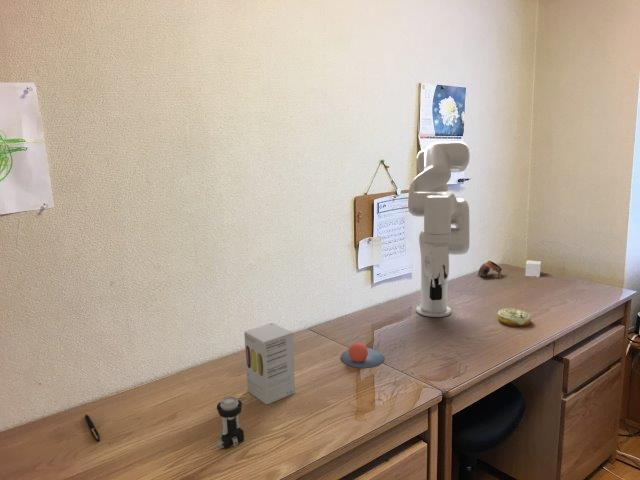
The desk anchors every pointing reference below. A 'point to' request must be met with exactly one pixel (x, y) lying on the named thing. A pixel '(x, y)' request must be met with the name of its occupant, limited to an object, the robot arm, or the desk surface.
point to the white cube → (533, 268)
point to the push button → (230, 422)
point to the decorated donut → (514, 317)
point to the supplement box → (270, 362)
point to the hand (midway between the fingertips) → (435, 299)
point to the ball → (358, 352)
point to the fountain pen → (92, 428)
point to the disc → (372, 359)
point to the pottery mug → (486, 268)
